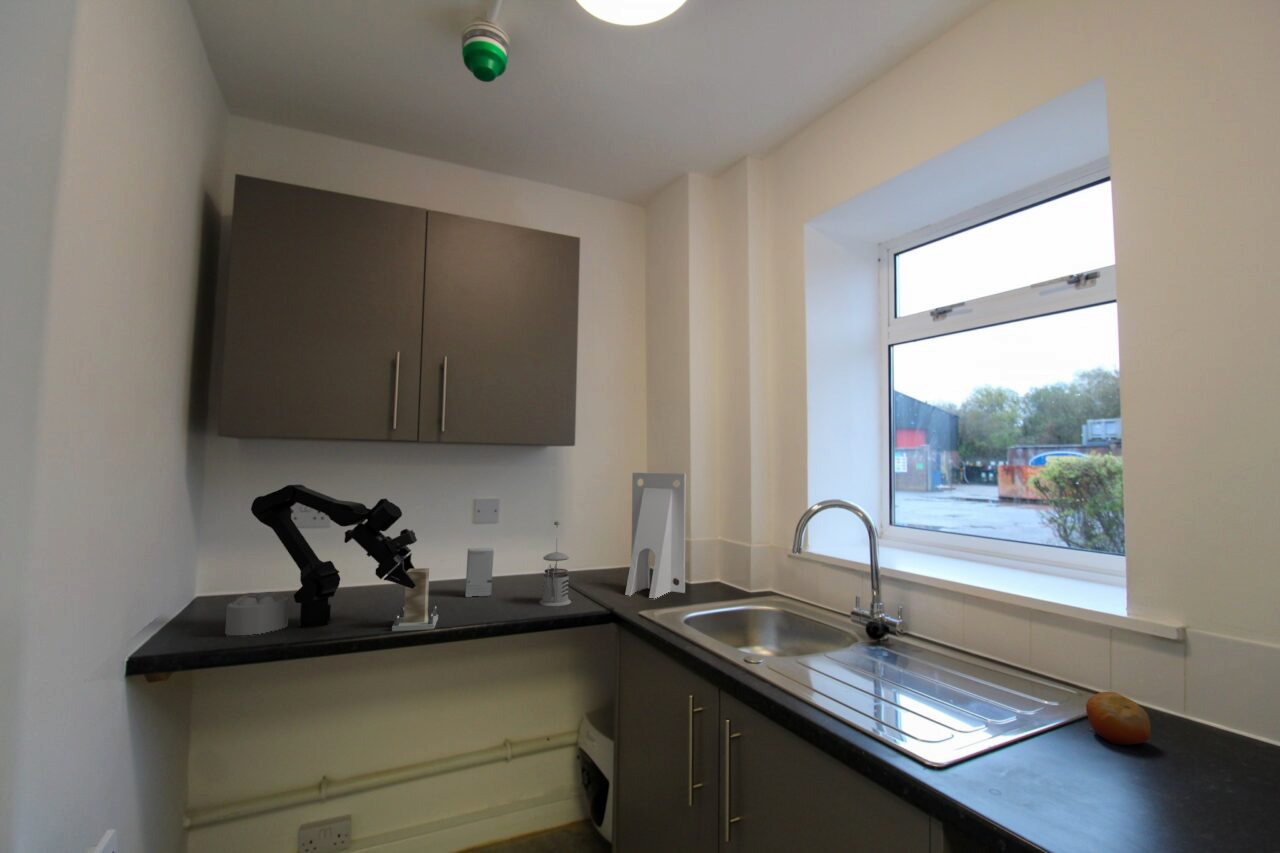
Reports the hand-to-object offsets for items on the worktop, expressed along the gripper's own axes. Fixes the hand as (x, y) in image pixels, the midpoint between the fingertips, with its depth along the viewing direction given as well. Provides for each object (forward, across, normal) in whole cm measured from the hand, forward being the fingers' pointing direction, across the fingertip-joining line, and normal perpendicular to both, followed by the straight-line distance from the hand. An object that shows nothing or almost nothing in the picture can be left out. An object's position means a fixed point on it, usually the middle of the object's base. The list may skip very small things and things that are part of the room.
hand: (417, 583), depth 153 cm
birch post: (+7, 0, +7) cm, 9 cm away
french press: (+34, +18, -19) cm, 43 cm away
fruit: (+92, -89, -77) cm, 149 cm away
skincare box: (+18, +32, -3) cm, 37 cm away
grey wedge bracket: (+57, +25, -42) cm, 75 cm away
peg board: (+8, 0, +7) cm, 11 cm away
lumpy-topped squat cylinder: (-20, +3, +35) cm, 40 cm away
